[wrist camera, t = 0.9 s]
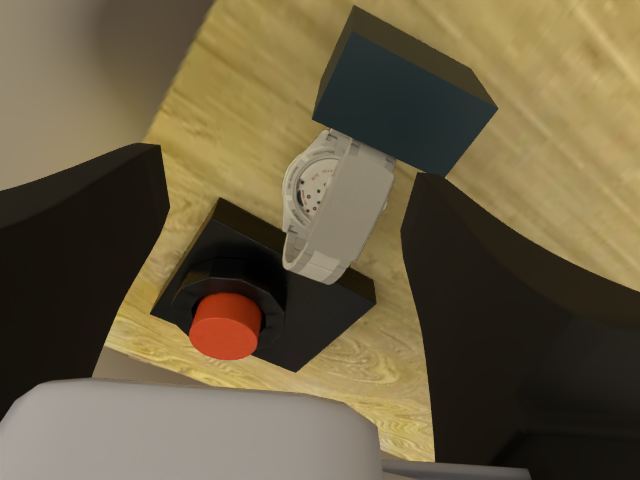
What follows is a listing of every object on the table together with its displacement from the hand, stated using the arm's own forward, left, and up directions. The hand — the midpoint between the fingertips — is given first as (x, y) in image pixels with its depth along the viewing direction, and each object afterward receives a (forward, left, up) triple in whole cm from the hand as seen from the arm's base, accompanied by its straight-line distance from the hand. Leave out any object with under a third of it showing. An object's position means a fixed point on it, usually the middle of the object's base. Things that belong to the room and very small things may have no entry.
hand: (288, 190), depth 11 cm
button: (-11, +9, -7) cm, 15 cm away
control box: (-12, +8, -10) cm, 18 cm away
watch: (+1, -5, -6) cm, 8 cm away
